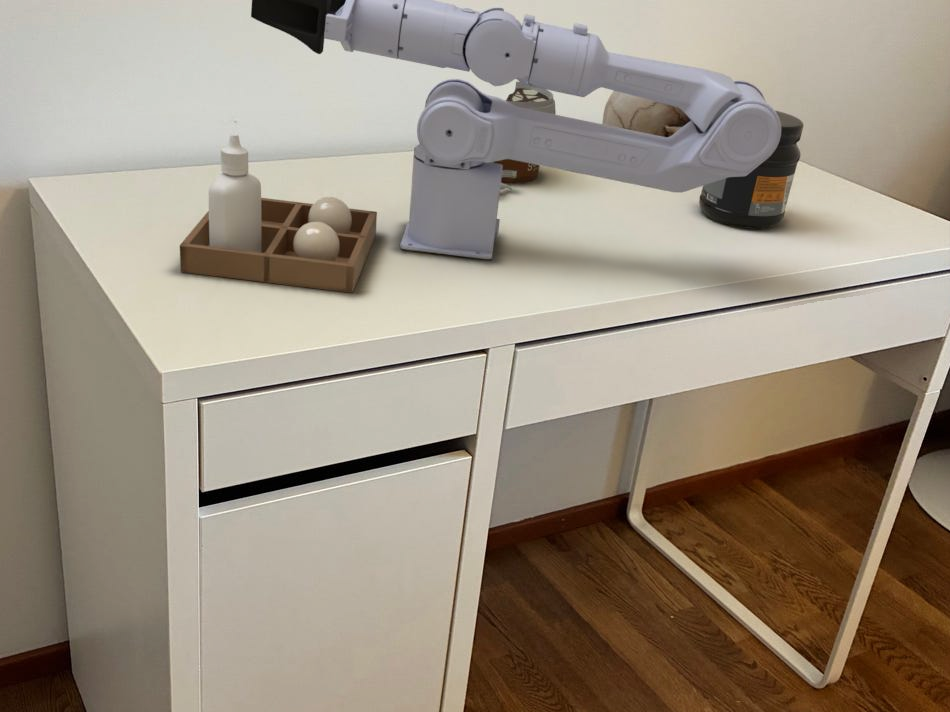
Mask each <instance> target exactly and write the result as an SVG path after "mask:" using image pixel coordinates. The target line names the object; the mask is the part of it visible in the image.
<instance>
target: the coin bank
mask: <svg viewBox="0 0 950 712" xmlns="http://www.w3.org/2000/svg"><path fill="white" fill-rule="evenodd" d="M690 121H691V119H690V118H689V117H688V116H687V115H686V114H685V113H684V112H683V111H682V110H681V109H680V108H678V107H675V106H672V105H668V104H664V103H660V102H656V101H652V100H649V99H645V98H641V97H637V96H633V95H629V94H626V93H622V92H618V91H614V90H612V92H611V94H610V96H609V97H608V99H607V100H606V103H605V106H604V109H603V115H602V124H603V125H608V126H613V127H618V128H623V129H628V130H633V131H638V132H642V133H647V134H652V135H657V136H662V137H670V136H672V135H673V134H674V133H675V132H677V131H678V130H679V129H681V128H682V127H683V126H685V125H686V124H687V123H688V122H690Z"/></svg>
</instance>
